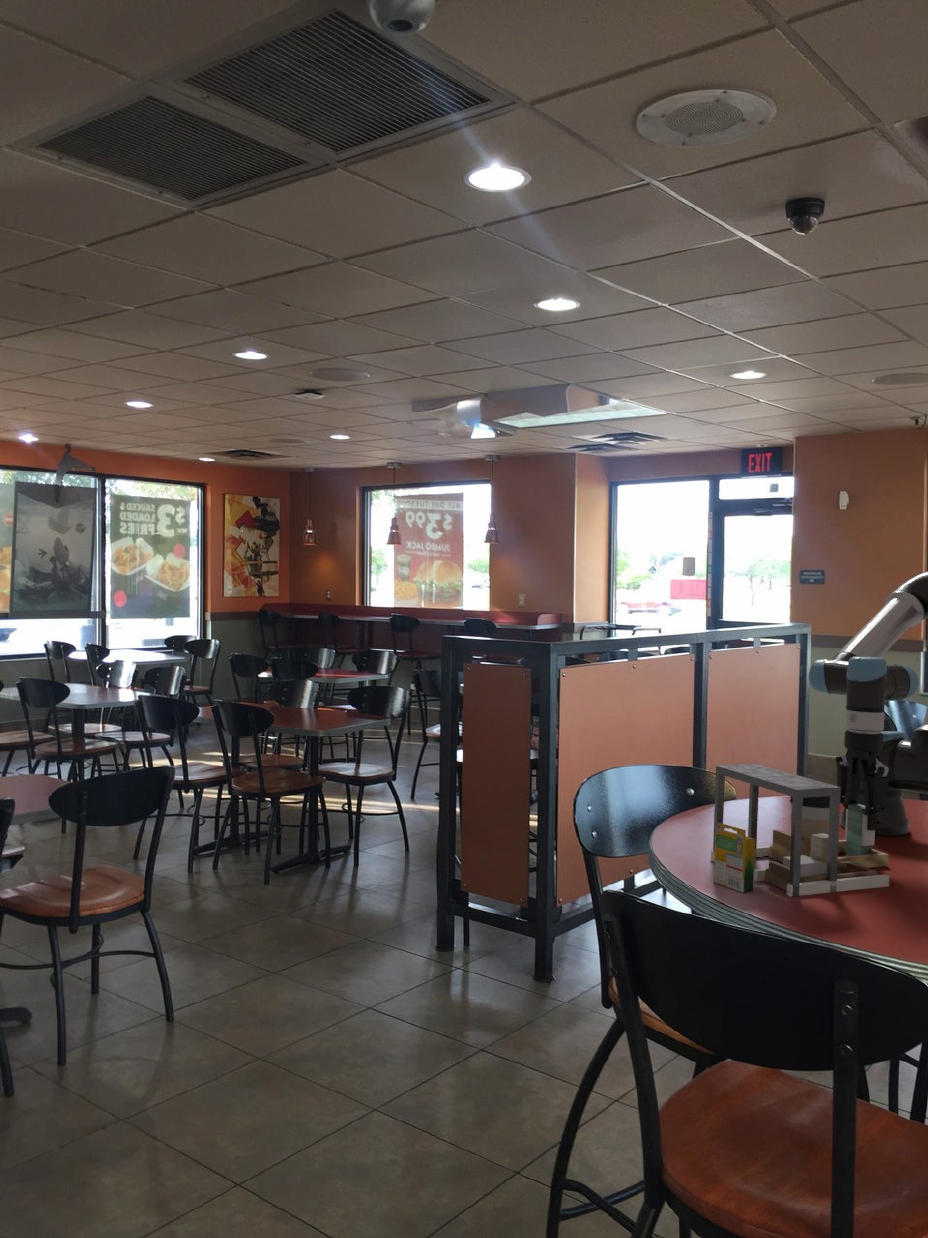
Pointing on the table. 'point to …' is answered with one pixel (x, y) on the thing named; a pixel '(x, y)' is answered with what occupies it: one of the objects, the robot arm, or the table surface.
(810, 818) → the coffee cup
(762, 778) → the shelf
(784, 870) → the sled
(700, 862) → the table surface
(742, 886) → the crayon box
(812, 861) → the grey block
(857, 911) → the table surface
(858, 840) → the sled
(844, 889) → the lane rails
